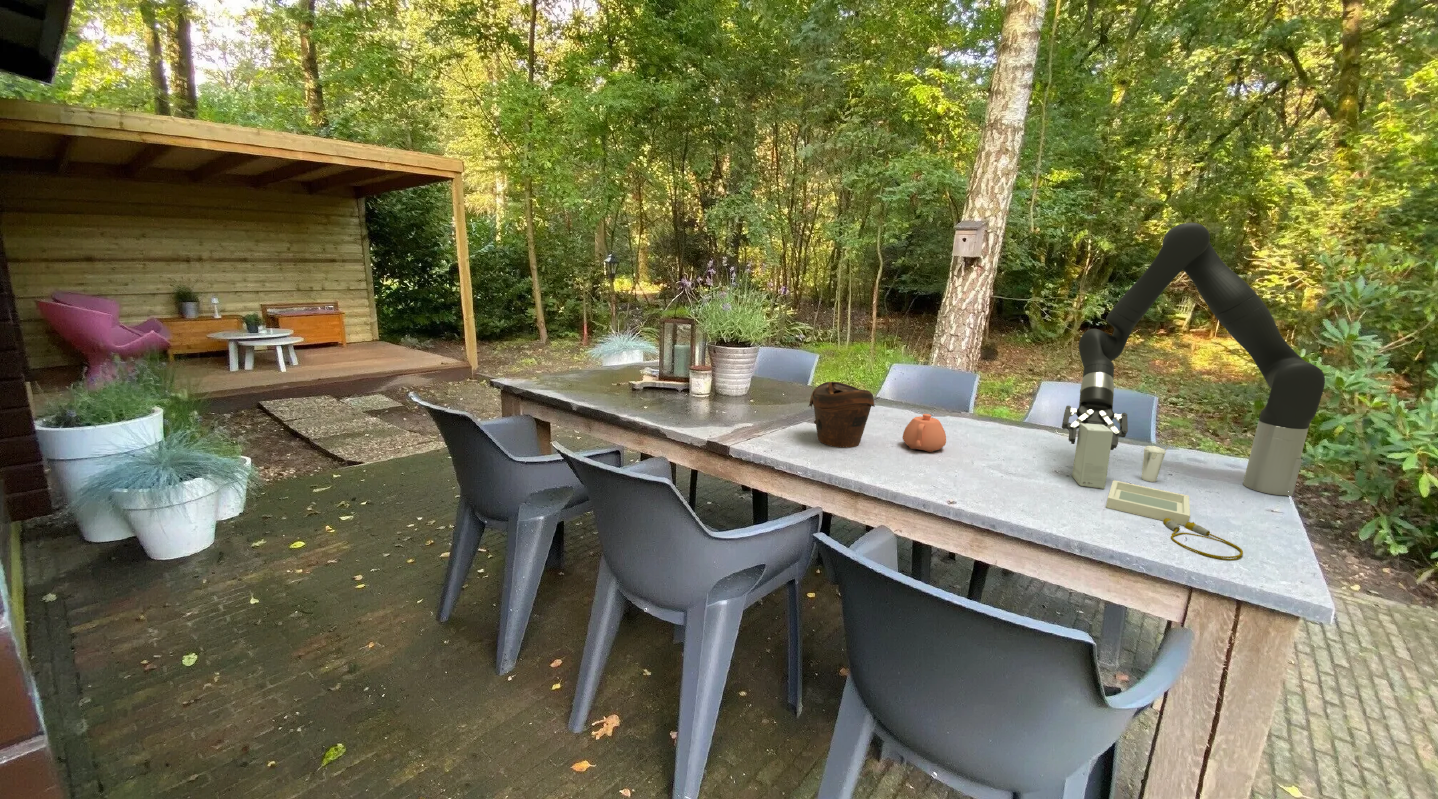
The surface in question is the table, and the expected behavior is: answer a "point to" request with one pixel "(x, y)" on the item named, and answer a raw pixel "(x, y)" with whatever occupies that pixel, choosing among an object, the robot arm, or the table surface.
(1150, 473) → the milkshake
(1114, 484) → the shallow cream tray
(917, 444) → the sugar bowl
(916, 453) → the table surface
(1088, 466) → the skincare box
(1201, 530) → the extension cord
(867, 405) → the case
